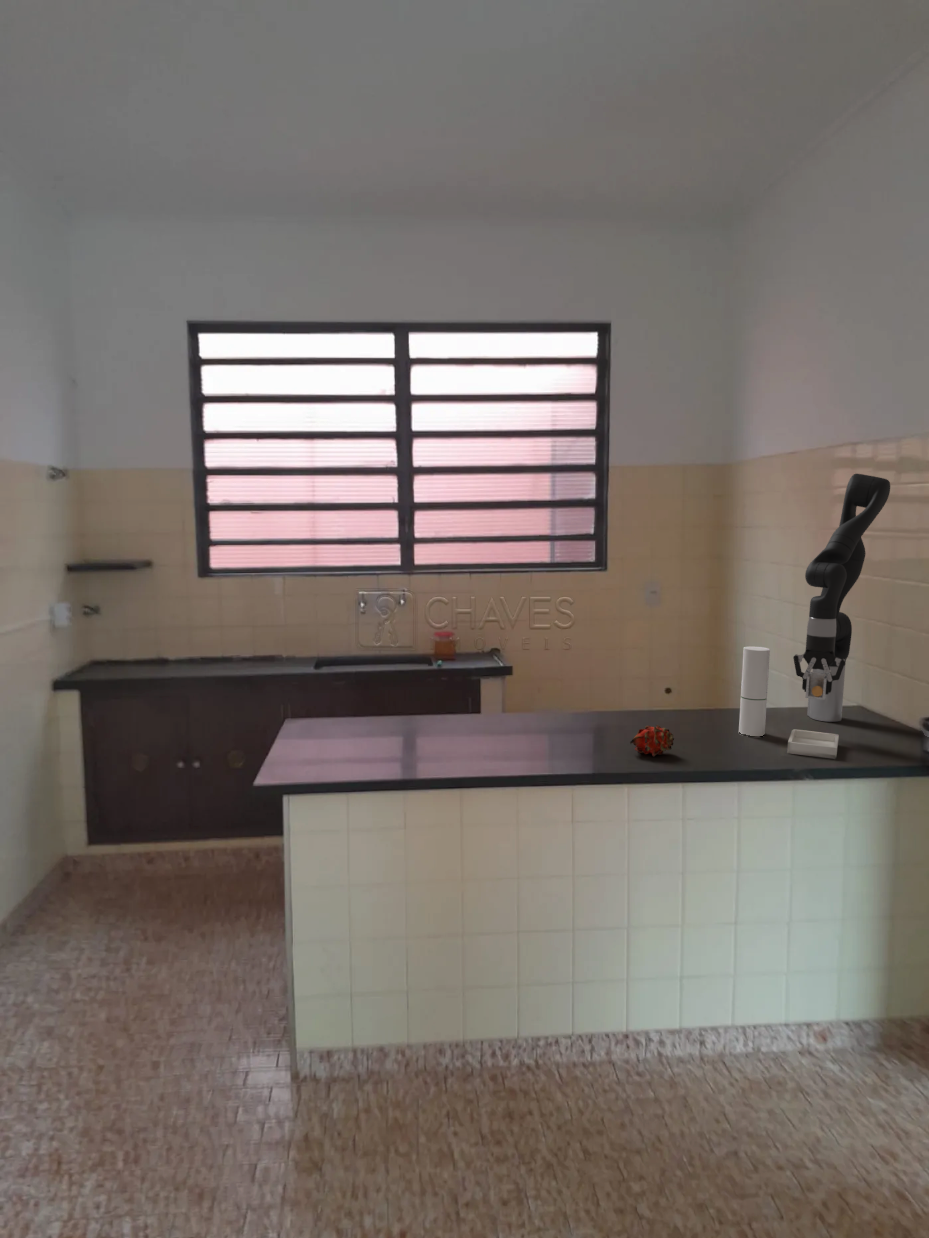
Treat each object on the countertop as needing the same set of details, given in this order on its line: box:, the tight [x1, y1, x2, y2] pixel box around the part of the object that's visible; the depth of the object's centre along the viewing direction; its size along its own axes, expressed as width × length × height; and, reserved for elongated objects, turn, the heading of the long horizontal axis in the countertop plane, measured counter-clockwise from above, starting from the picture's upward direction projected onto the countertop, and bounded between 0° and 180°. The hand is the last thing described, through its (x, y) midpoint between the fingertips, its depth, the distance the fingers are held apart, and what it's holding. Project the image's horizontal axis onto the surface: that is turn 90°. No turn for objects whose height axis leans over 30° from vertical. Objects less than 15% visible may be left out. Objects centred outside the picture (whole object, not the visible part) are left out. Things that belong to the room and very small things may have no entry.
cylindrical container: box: [738, 645, 771, 737], centre depth 248 cm, size 7×7×25 cm
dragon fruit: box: [629, 724, 675, 757], centre depth 227 cm, size 8×8×12 cm
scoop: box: [805, 671, 827, 700], centre depth 245 cm, size 8×5×6 cm, turn 154°
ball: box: [812, 686, 823, 697], centre depth 242 cm, size 3×3×3 cm
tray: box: [786, 728, 840, 760], centre depth 234 cm, size 15×12×3 cm
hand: (816, 692), depth 245 cm, fingers closed on scoop, 5 cm apart
